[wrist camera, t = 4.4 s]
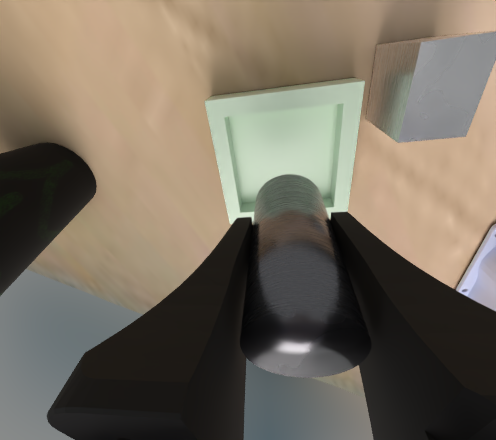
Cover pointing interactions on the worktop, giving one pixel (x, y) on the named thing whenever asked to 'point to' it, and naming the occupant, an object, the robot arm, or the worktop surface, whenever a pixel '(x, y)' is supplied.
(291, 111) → the green tray
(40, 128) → the worktop surface
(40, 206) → the cup
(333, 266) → the steel pin
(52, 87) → the worktop surface
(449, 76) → the block
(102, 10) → the worktop surface
